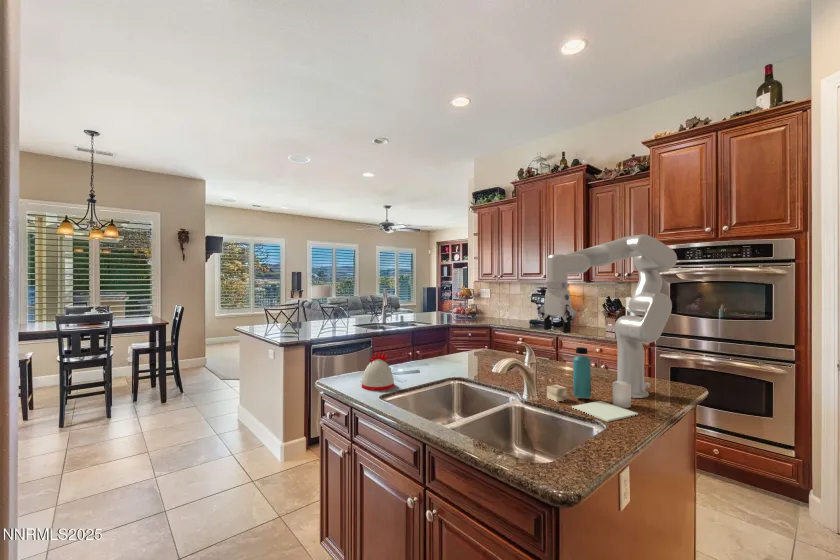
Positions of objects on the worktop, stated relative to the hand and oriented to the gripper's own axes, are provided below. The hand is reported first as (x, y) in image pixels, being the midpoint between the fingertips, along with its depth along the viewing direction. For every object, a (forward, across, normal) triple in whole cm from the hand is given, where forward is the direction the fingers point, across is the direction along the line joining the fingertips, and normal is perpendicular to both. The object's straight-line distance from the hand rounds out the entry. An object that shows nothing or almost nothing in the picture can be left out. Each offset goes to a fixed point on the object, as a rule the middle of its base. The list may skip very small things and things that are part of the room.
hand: (556, 331), depth 147 cm
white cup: (+26, -15, -17) cm, 35 cm away
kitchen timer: (+27, +47, +56) cm, 78 cm away
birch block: (+26, 0, 0) cm, 27 cm away
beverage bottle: (+27, -4, -9) cm, 28 cm away
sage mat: (+26, -17, -5) cm, 32 cm away
